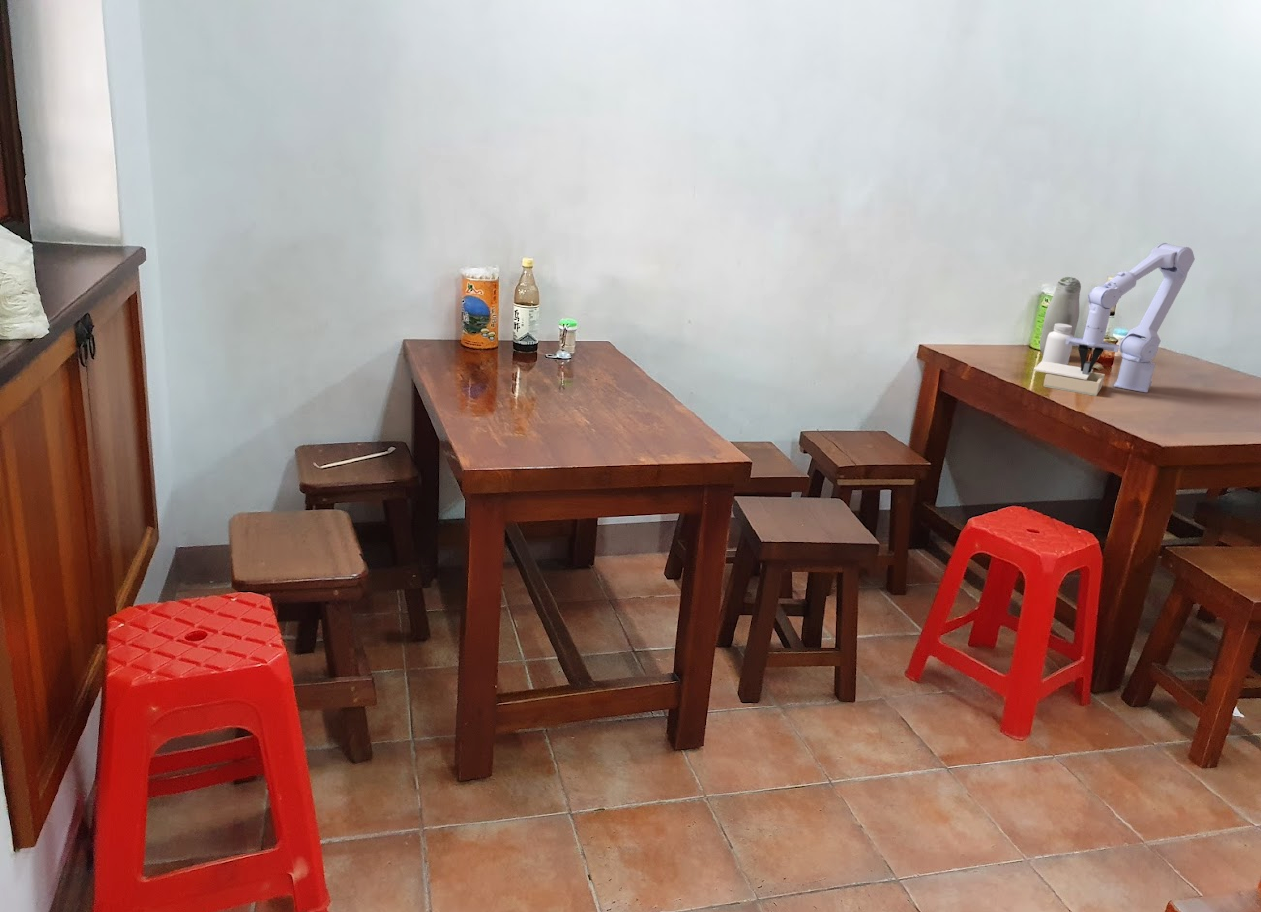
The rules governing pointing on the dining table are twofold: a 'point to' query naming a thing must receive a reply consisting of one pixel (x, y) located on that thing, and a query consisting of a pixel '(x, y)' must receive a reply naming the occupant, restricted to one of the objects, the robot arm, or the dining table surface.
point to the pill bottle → (1058, 345)
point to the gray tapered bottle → (1062, 308)
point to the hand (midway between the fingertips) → (1085, 371)
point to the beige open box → (1075, 383)
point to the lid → (1064, 369)
